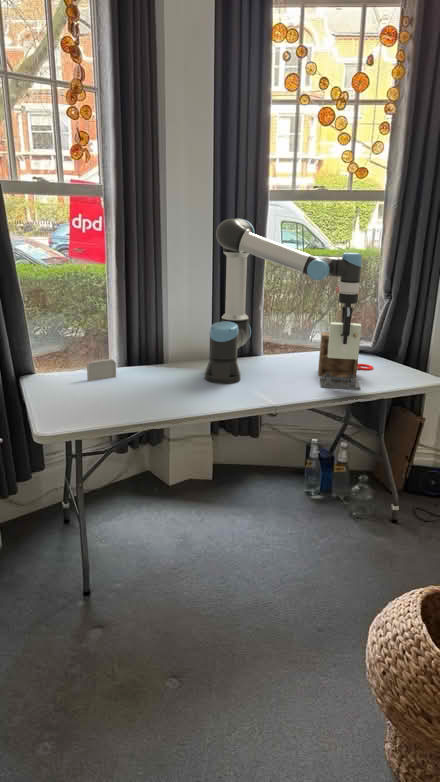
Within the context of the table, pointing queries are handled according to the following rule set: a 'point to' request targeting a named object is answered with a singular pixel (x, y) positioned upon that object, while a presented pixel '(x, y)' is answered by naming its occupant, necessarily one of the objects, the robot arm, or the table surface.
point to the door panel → (336, 341)
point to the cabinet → (334, 361)
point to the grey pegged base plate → (339, 382)
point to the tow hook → (364, 365)
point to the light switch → (101, 369)
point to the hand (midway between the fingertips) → (343, 350)
